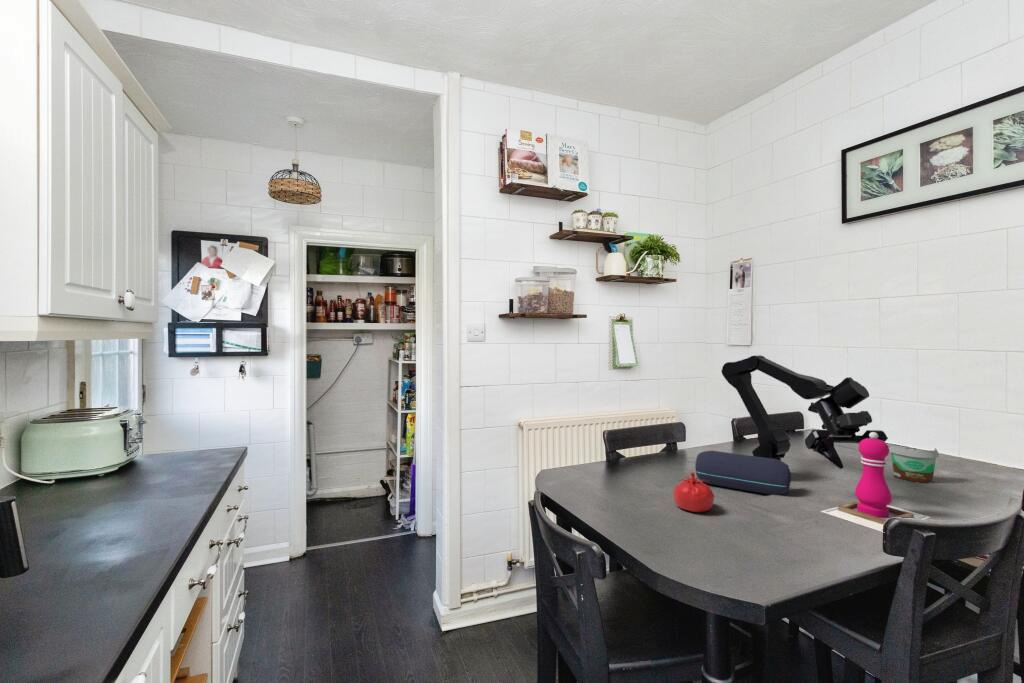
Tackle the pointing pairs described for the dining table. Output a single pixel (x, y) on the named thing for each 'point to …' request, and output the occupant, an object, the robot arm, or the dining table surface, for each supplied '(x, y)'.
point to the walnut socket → (848, 509)
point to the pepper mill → (873, 478)
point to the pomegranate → (693, 495)
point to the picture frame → (867, 522)
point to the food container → (913, 464)
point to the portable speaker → (743, 472)
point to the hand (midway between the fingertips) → (860, 468)
